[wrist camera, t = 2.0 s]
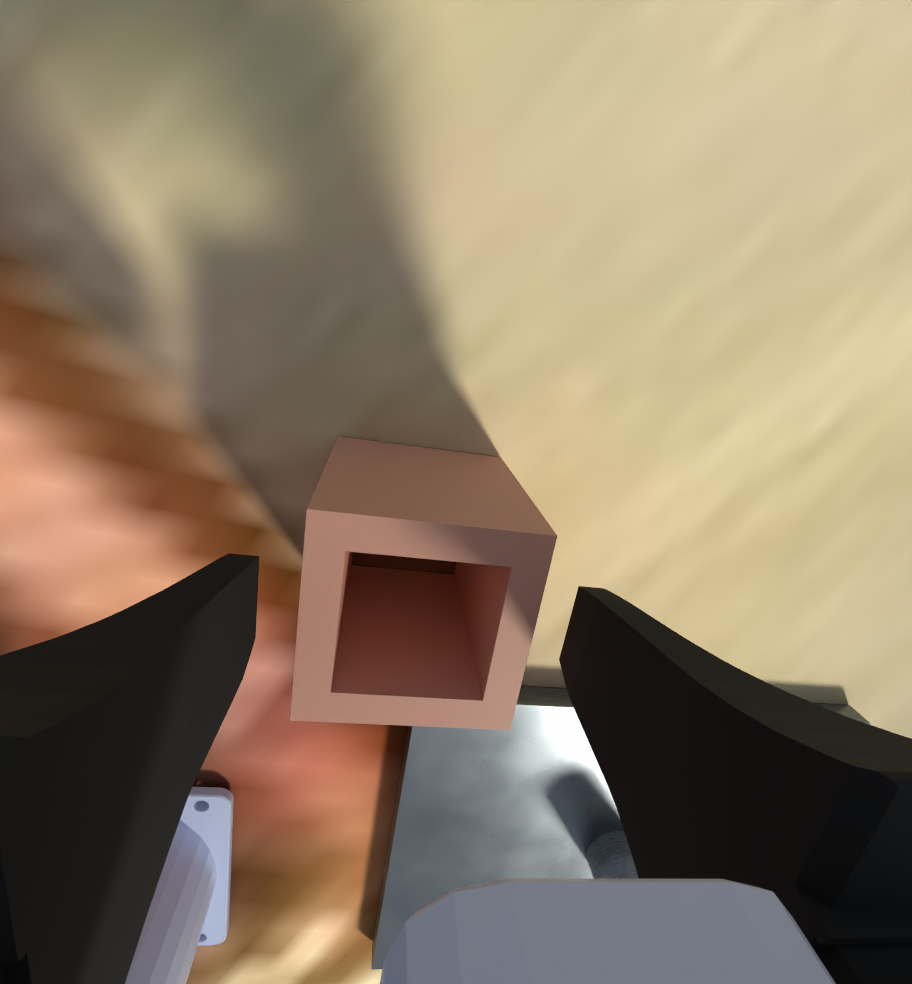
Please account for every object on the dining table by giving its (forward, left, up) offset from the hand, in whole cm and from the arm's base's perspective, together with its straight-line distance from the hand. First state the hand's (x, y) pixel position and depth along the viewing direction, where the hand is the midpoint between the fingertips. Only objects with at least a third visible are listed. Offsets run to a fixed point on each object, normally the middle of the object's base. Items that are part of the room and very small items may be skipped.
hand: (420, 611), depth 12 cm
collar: (0, 0, -5) cm, 5 cm away
